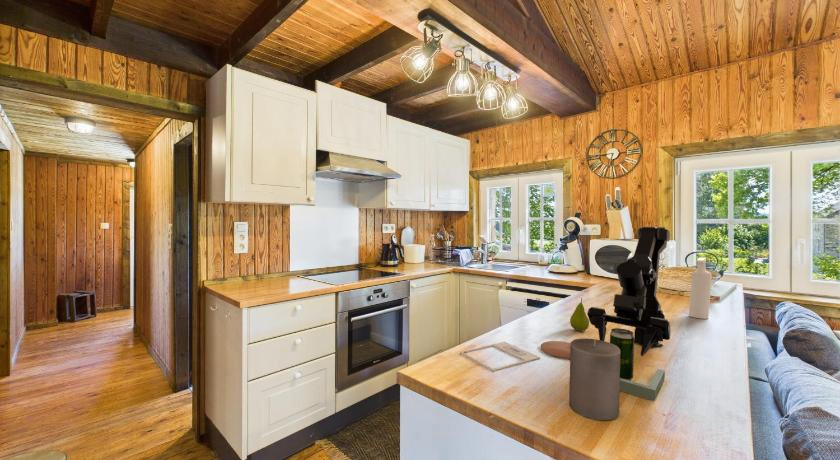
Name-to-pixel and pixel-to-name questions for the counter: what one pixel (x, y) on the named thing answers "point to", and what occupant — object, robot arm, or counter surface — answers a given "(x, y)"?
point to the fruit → (579, 318)
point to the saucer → (557, 349)
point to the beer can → (624, 350)
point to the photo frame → (508, 349)
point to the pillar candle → (594, 379)
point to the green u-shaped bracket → (644, 386)
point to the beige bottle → (700, 291)
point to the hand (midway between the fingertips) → (620, 350)
